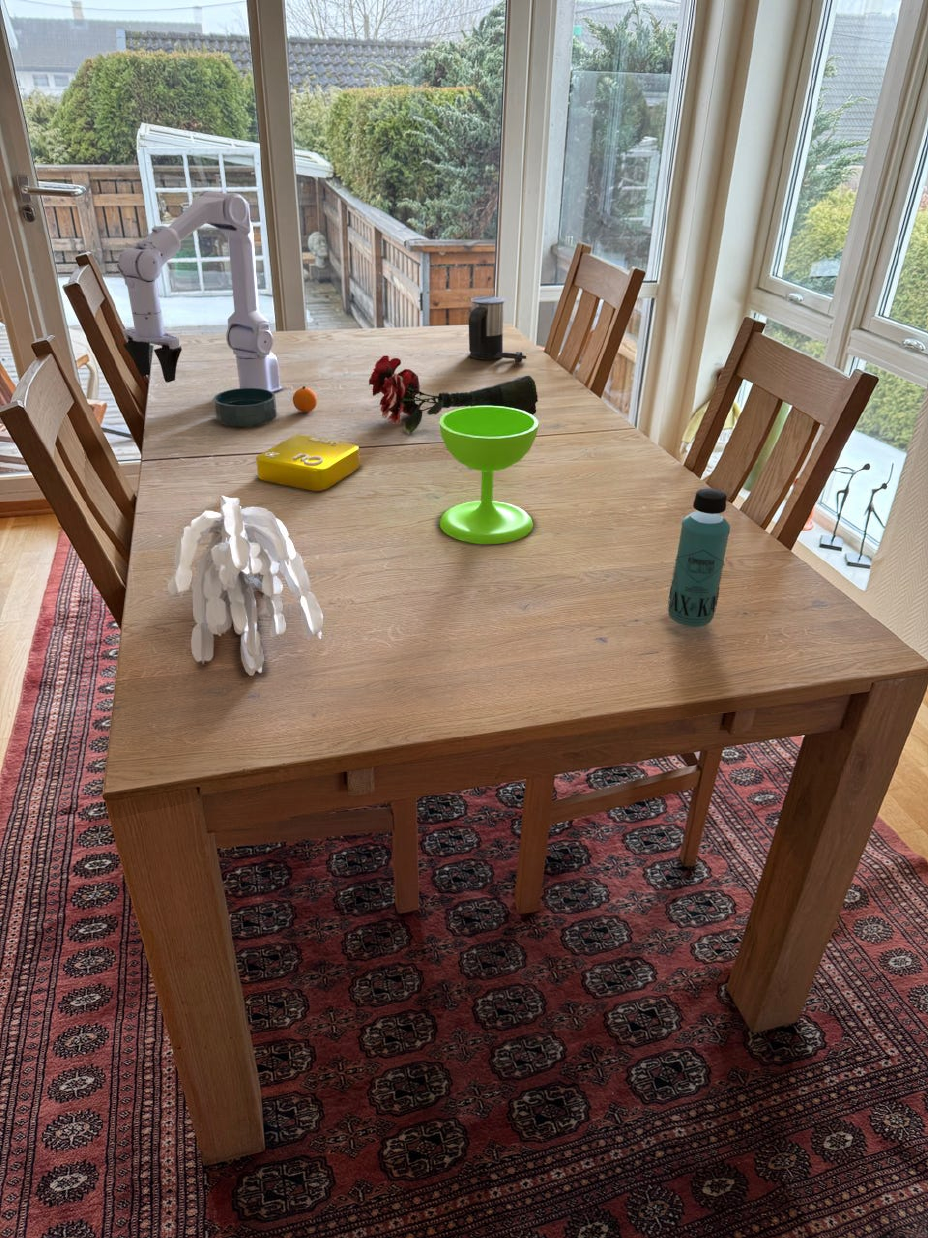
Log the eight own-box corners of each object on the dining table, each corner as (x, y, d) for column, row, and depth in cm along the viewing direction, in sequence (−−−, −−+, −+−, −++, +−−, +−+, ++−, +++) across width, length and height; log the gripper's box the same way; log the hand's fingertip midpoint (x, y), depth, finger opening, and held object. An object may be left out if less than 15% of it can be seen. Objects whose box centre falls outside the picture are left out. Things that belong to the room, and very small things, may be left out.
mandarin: (304, 406, 209) (302, 381, 206) (323, 410, 207) (321, 385, 204) (288, 412, 205) (286, 387, 202) (307, 417, 203) (305, 391, 200)
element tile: (363, 466, 178) (362, 442, 175) (321, 493, 166) (319, 468, 164) (298, 453, 183) (296, 430, 181) (253, 479, 172) (251, 455, 169)
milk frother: (472, 350, 252) (472, 294, 245) (529, 353, 250) (531, 296, 243) (465, 364, 240) (465, 306, 232) (524, 367, 238) (527, 308, 231)
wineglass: (466, 551, 147) (467, 444, 137) (423, 514, 159) (422, 413, 149) (551, 532, 153) (557, 428, 144) (503, 498, 165) (507, 400, 156)
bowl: (246, 406, 209) (243, 384, 206) (289, 416, 203) (287, 394, 200) (204, 421, 199) (200, 399, 197) (248, 432, 194) (245, 409, 191)
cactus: (148, 511, 136) (132, 627, 107) (244, 440, 134) (256, 539, 105) (223, 589, 145) (228, 716, 116) (315, 523, 143) (343, 636, 114)
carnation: (522, 447, 209) (373, 454, 199) (506, 377, 215) (359, 381, 204) (545, 409, 195) (386, 415, 185) (527, 336, 200) (371, 338, 190)
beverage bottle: (659, 613, 130) (678, 482, 120) (705, 612, 131) (727, 481, 121) (672, 638, 125) (693, 502, 115) (720, 636, 125) (744, 501, 115)
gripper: (106, 310, 186) (119, 377, 193) (156, 320, 179) (167, 388, 186) (134, 304, 191) (145, 369, 198) (183, 313, 184) (193, 380, 191)
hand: (157, 378), depth 192 cm, fingers open, 7 cm apart
